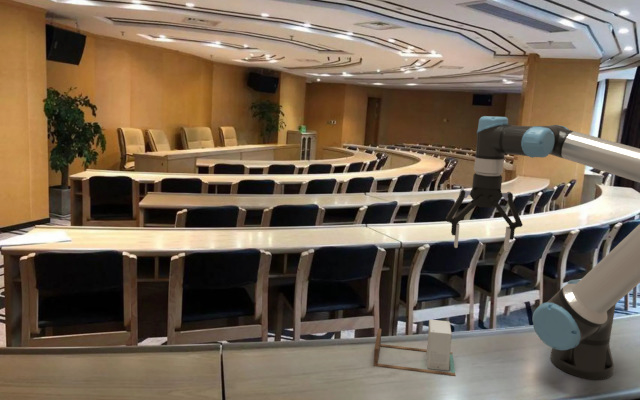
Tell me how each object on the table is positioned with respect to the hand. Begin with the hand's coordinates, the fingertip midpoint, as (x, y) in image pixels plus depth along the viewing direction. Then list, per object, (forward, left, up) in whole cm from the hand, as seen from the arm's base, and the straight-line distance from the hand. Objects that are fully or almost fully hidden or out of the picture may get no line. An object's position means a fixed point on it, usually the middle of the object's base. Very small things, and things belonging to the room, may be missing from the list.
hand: (480, 248), depth 141 cm
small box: (+10, +14, -29) cm, 34 cm away
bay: (+17, +14, -29) cm, 36 cm away
